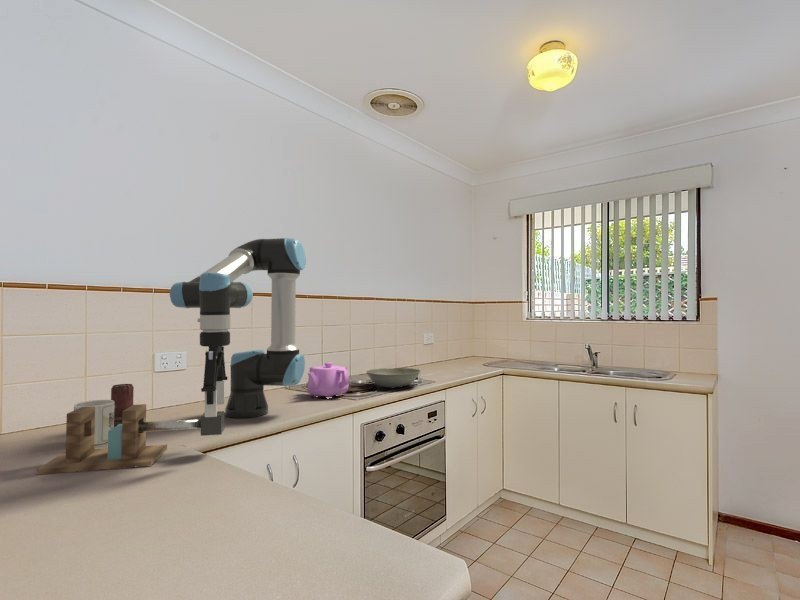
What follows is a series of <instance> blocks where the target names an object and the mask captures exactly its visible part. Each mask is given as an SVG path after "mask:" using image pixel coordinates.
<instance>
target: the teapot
mask: <svg viewBox="0 0 800 600" xmlns="http://www.w3.org/2000/svg"><path fill="white" fill-rule="evenodd" d="M308 371H309V372H307V375H308V381H307V391H308V394H309V395H313V396H320V397H321V396H322V397H325V398H326V397H332V398H333V396H336V395H338V394H342V395H343V394H346V393H347V392H348V390H349V384H350V378H349V377H350V376H349V370H348V367H346V366H339V365H333V362H330V361H329V362H326V361H325V362H324V365H321V366H311V367H309V370H308Z"/></svg>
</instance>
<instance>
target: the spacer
mask: <svg viewBox="0 0 800 600" xmlns="http://www.w3.org/2000/svg"><path fill="white" fill-rule="evenodd" d="M107 448H108V460H114V459H122V424H119V425H117V426H116V427H114V428H112V429H111V430H109V431H108V442H107Z"/></svg>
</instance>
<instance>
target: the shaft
mask: <svg viewBox="0 0 800 600" xmlns="http://www.w3.org/2000/svg"><path fill="white" fill-rule="evenodd" d="M194 429H195V430H197V429H198V430H199V429H200V436H201V437H203V436H204V437H205V436H218V435H220V436H221V435H222V434H223V433H224V431H225V410H222V411H221V410H220V411H218V410H217V416H216V417H205V411H204V412H203V413H202V415H200V419H199V418H197V419H196V418H194V419H178V420H177V419H175V420H159V421H146V422H138V432H146V433H147V432H163V431H179V430H180V431H181V430H194Z"/></svg>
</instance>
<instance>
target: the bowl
mask: <svg viewBox="0 0 800 600" xmlns="http://www.w3.org/2000/svg"><path fill="white" fill-rule="evenodd" d="M420 373H421V369H419V368H418V369H417V368H409V367H394V368H393V367H392V368H389V367H385V368H372V369H369V370H366V375H367V376H368V378H369V379H370V380H371V381H372V382H373V383H374V384H375V385H377V386H380V387H383V388H389V387H398V388H402V387H401V386H404V387H406V385H407V386H409V385H410V384H412V383H413V382H414V381H416V379H417V378H418V377H419V375H420Z"/></svg>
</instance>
